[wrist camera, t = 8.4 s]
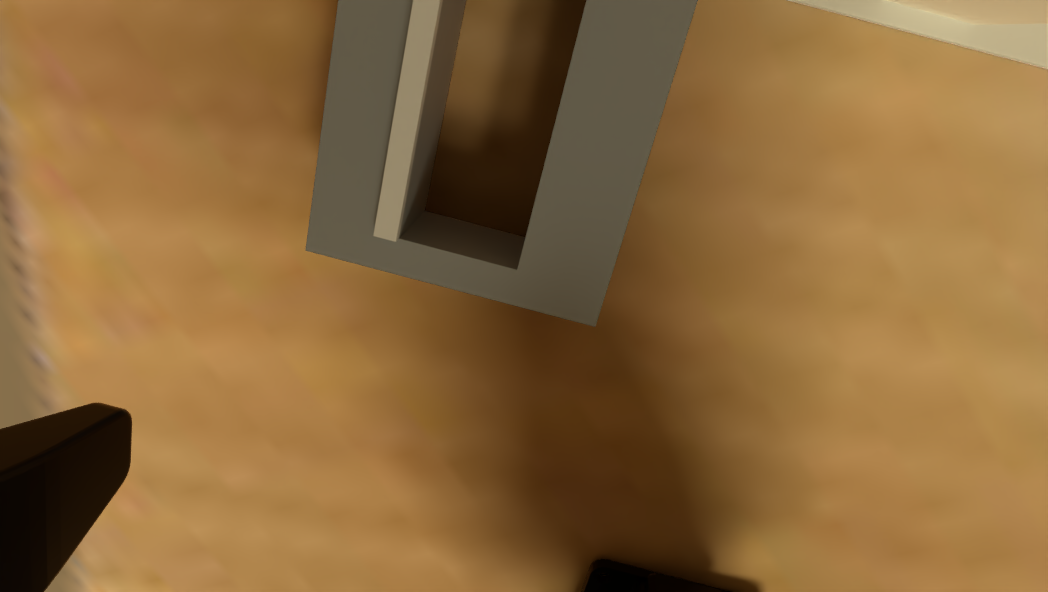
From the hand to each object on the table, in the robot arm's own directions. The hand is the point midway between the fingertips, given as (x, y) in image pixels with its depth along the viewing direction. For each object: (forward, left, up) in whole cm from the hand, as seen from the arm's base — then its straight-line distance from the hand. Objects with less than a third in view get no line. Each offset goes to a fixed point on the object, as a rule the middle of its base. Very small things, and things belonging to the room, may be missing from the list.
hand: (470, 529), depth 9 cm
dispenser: (+4, +2, -13) cm, 14 cm away
